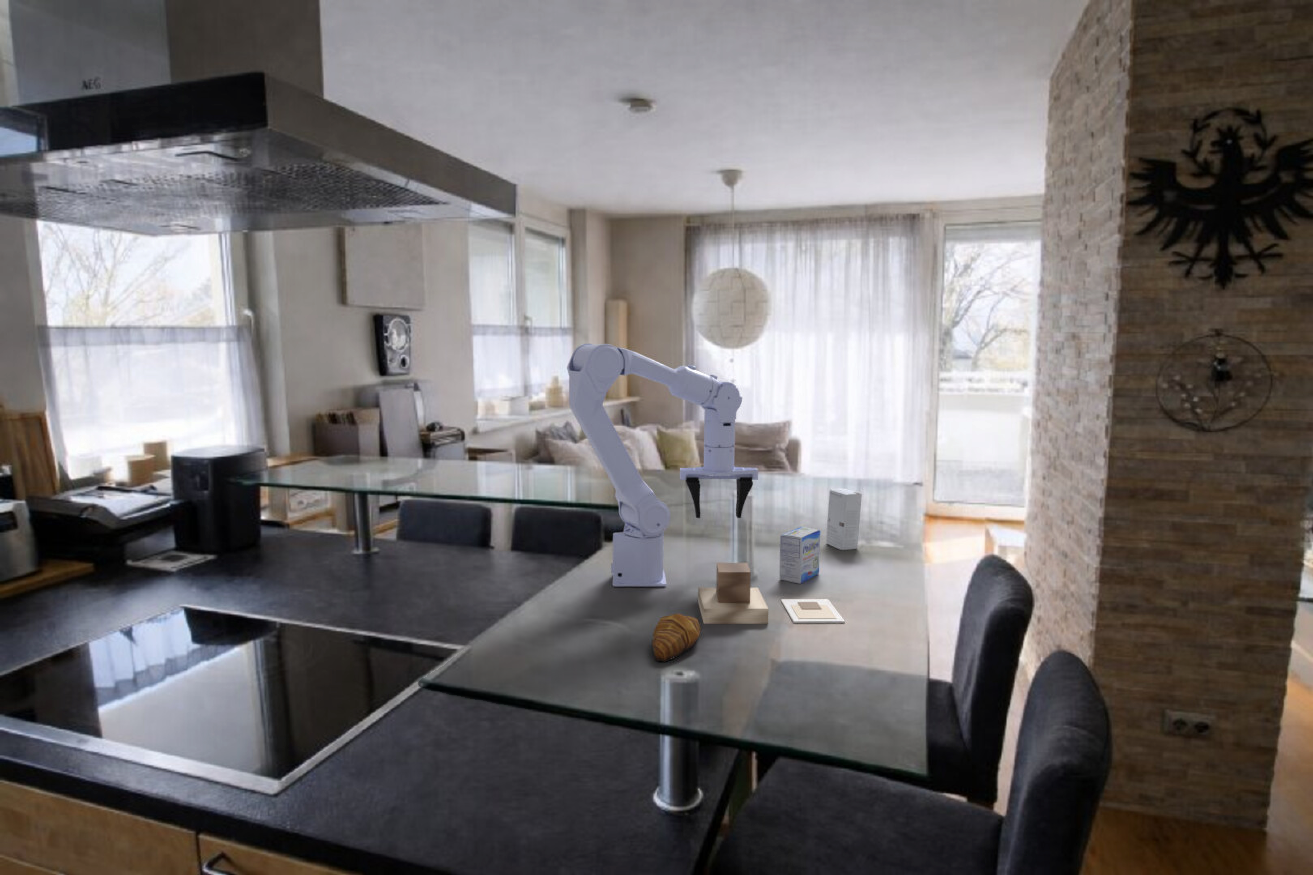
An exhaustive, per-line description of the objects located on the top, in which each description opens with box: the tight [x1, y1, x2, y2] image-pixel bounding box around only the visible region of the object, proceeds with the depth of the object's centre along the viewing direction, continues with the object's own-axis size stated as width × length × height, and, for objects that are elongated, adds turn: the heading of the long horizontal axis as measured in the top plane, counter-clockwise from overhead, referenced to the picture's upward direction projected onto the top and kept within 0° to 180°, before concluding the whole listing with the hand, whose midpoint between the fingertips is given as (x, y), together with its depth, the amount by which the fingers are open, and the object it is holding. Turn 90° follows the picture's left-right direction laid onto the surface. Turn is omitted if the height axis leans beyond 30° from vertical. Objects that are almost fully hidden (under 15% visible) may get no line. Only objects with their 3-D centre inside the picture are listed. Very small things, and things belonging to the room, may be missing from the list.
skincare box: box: [825, 487, 863, 551], centre depth 161 cm, size 6×4×12 cm
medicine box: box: [779, 526, 821, 585], centre depth 139 cm, size 8×4×9 cm, turn 143°
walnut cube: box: [715, 562, 752, 603], centre depth 121 cm, size 5×5×5 cm
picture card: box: [780, 598, 846, 624], centre depth 122 cm, size 8×10×1 cm
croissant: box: [651, 613, 702, 662], centre depth 108 cm, size 14×7×5 cm, turn 157°
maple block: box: [697, 587, 769, 625], centre depth 122 cm, size 10×10×3 cm
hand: (718, 516), depth 142 cm, fingers open, 7 cm apart
